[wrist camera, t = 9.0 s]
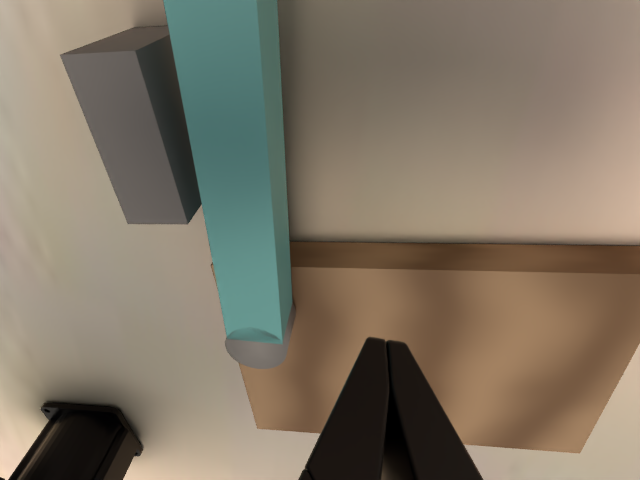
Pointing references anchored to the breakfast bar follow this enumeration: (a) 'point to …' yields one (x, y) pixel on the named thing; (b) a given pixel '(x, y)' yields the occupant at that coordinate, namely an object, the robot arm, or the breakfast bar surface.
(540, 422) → the board
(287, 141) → the breakfast bar surface
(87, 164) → the breakfast bar surface
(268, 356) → the leg
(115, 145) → the post
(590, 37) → the breakfast bar surface
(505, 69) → the breakfast bar surface
